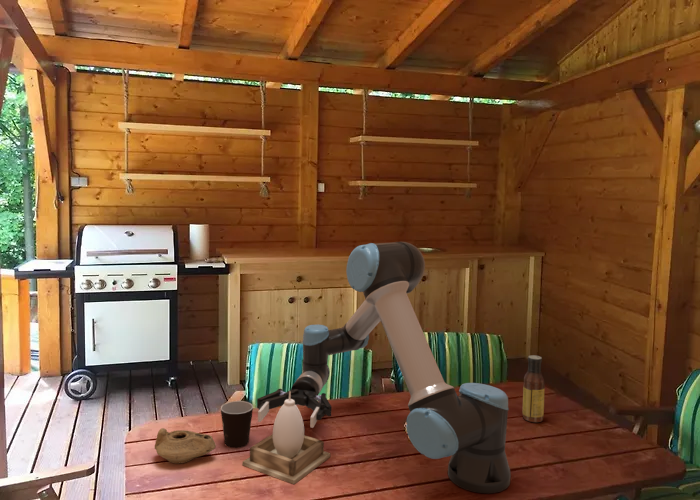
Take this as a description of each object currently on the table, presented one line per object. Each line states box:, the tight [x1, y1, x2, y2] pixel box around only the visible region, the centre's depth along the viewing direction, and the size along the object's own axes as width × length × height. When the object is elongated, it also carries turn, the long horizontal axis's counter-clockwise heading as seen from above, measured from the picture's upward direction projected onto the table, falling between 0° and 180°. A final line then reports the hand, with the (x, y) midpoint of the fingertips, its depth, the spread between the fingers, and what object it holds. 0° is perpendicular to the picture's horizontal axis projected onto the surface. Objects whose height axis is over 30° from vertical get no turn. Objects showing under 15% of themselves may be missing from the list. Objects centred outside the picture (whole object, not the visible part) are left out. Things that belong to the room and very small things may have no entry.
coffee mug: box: [220, 400, 254, 449], centre depth 157 cm, size 12×9×10 cm
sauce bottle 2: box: [272, 390, 305, 458], centre depth 146 cm, size 8×8×18 cm
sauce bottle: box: [521, 354, 545, 424], centre depth 176 cm, size 7×6×20 cm
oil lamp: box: [154, 427, 217, 464], centre depth 147 cm, size 11×15×8 cm
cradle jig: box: [242, 433, 331, 485], centre depth 147 cm, size 16×16×4 cm
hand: (285, 419), depth 143 cm, fingers open, 13 cm apart
